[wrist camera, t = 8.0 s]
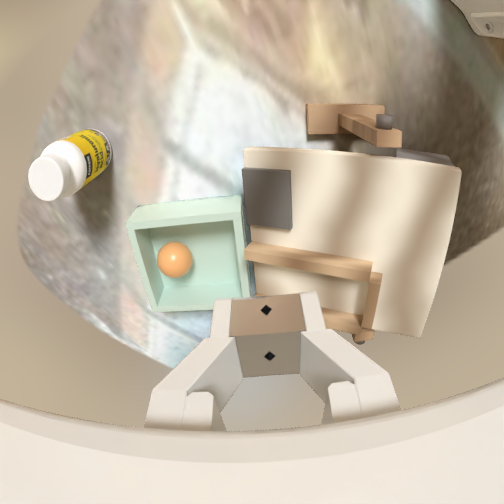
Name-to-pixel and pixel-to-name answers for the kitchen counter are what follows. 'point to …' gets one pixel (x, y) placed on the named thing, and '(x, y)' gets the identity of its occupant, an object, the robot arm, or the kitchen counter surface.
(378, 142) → the lever stand
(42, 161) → the supplement bottle
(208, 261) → the green square tray
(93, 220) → the kitchen counter surface
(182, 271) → the ball
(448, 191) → the lever
